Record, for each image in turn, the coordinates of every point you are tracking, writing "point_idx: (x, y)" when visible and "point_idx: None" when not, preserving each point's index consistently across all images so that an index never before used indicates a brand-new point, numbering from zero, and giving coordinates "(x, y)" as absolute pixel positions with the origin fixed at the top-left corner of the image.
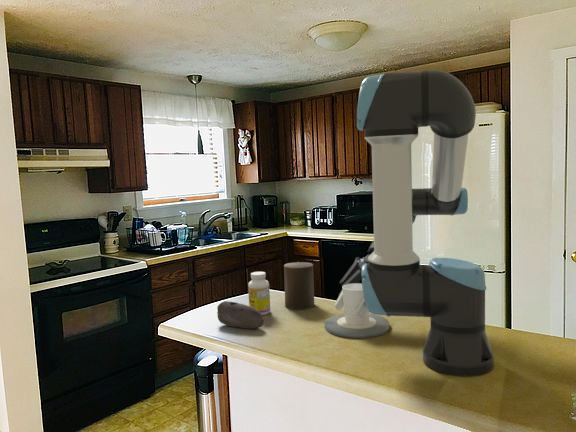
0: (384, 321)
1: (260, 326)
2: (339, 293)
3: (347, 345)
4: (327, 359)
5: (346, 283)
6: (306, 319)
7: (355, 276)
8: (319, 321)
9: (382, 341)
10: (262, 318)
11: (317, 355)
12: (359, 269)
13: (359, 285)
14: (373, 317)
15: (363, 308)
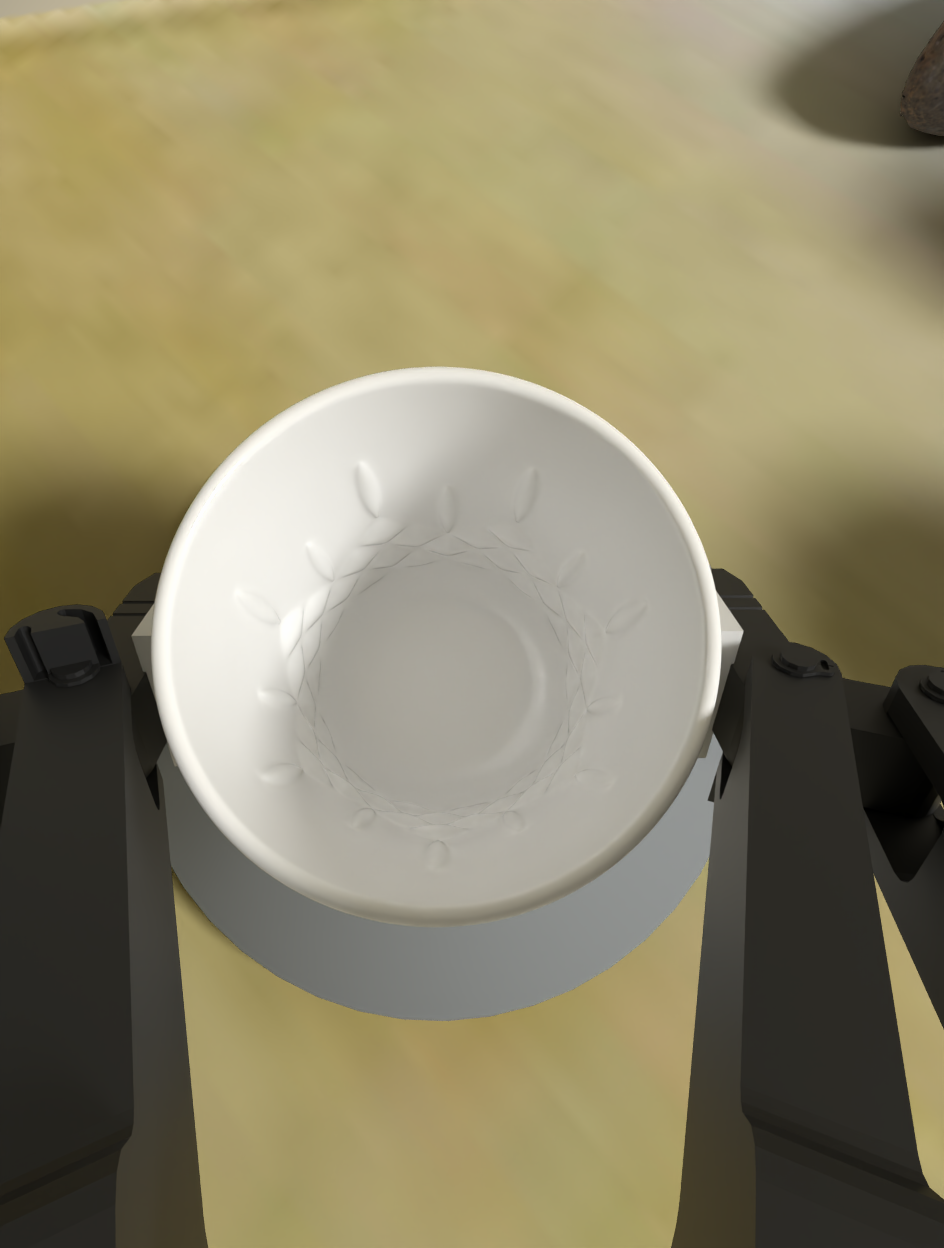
0: (266, 911)
1: (903, 113)
2: (746, 591)
3: (209, 347)
4: (146, 114)
5: (787, 687)
6: (887, 512)
7: (744, 867)
8: (772, 555)
9: (53, 583)
10: (938, 55)
11: (239, 113)
12: (874, 1161)
13: (575, 856)
14: (434, 928)
15: None
